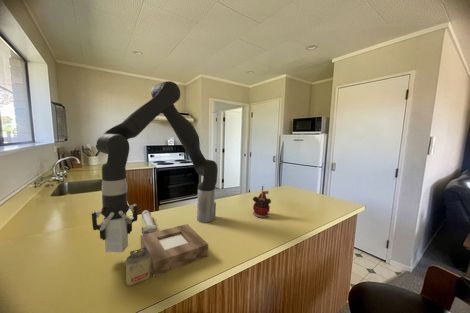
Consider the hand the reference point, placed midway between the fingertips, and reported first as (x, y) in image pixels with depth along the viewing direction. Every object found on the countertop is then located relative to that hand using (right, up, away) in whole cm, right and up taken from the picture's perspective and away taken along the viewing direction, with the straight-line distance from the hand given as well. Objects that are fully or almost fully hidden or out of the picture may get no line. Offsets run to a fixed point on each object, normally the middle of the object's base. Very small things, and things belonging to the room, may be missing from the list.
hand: (116, 235), depth 70 cm
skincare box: (0, -5, +1) cm, 5 cm away
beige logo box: (+12, -11, -8) cm, 18 cm away
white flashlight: (-3, -4, +25) cm, 26 cm away
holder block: (+18, -9, +7) cm, 22 cm away
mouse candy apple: (+58, -7, +47) cm, 75 cm away
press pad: (+18, -6, +7) cm, 21 cm away
